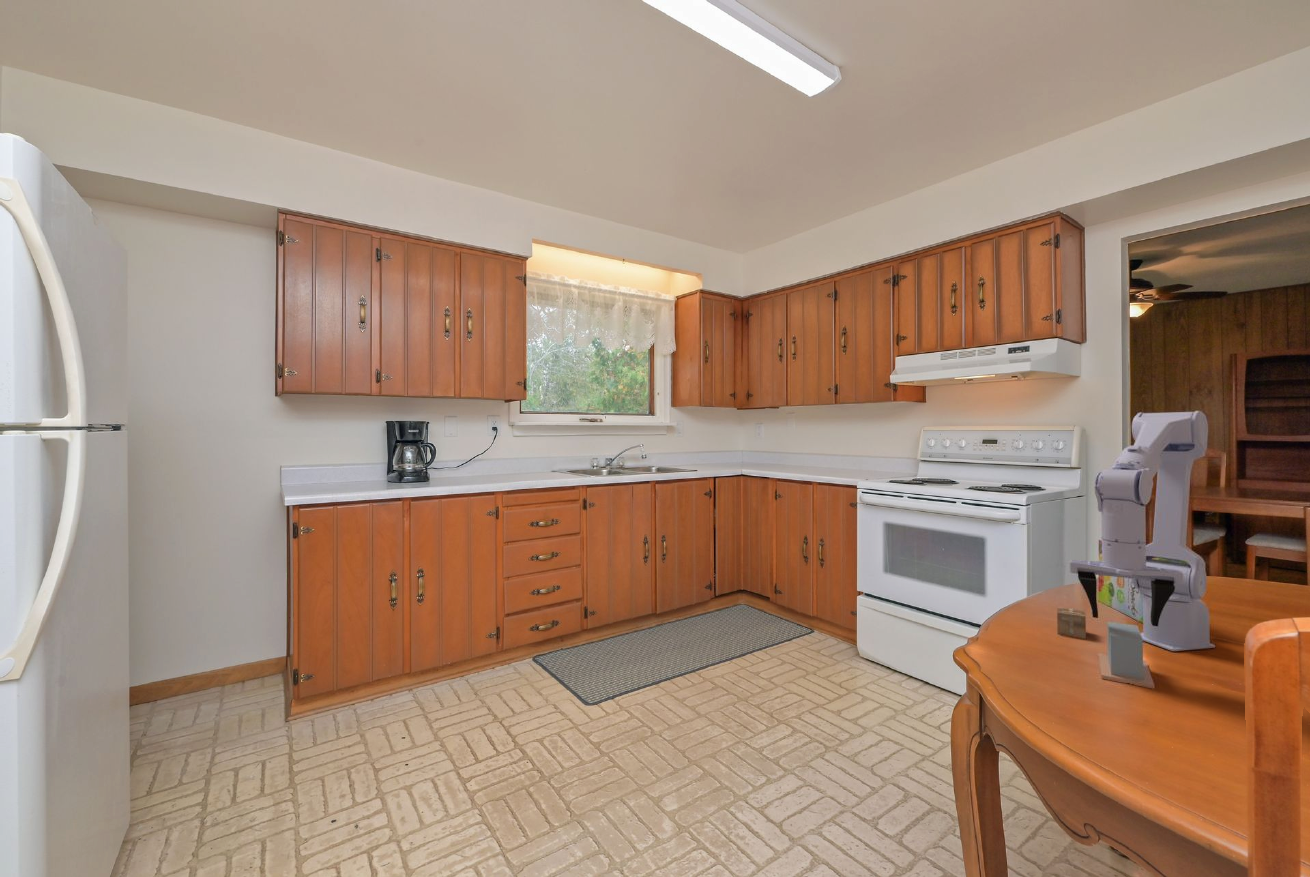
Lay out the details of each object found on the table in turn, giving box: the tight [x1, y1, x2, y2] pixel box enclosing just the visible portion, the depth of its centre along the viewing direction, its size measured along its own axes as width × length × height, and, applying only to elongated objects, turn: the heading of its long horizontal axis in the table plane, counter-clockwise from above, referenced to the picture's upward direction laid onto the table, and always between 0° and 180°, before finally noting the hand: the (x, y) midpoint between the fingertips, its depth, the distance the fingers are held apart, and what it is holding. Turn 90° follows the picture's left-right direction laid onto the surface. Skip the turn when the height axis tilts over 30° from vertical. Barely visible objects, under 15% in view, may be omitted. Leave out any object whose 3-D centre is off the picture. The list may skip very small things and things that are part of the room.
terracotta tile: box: [1097, 652, 1155, 690], centre depth 94 cm, size 11×6×1 cm, turn 144°
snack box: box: [1097, 538, 1188, 624], centre depth 121 cm, size 21×6×15 cm, turn 168°
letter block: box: [1056, 606, 1087, 639], centre depth 112 cm, size 5×4×5 cm
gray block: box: [1106, 620, 1144, 680], centre depth 94 cm, size 4×8×6 cm, turn 144°
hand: (1124, 620), depth 94 cm, fingers open, 7 cm apart
